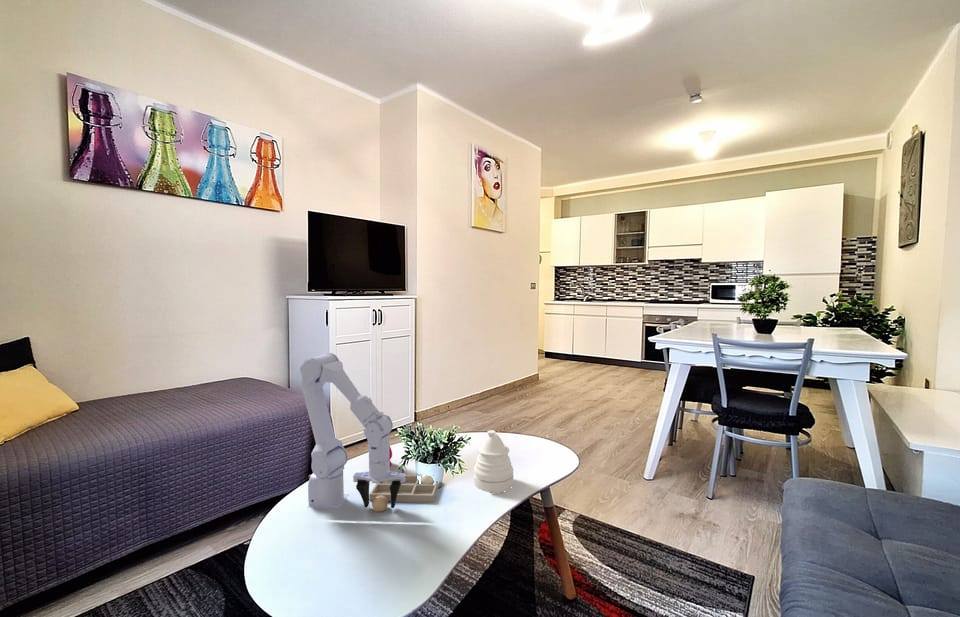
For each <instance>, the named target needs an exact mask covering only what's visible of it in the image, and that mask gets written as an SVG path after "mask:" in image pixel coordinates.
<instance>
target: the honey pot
mask: <svg viewBox="0 0 960 617" xmlns="http://www.w3.org/2000/svg"><path fill="white" fill-rule="evenodd" d="M478 453H479V454H478V455H477V457H476V461H475V465H474V467H473V485H474V486H475V487H476V488H477V489H478V490H481V491H484V492H489V494H490V493H499V494H501V493H500V492H504V491H507V490H509V489H511V487H512V486H513V487H514V468H513V465H512V461H511V458H510V456H509V453H510V448H509V447H508V446H507V445H506V444H504V442H503V440H502V438H501V437H500V436H499V435H498V434H497V432H496V431H495V430H492V429H491V430H487V437H486V438H485V440H484V442H483V443H482V445H480V446H479V447H478ZM513 487H512V488H513ZM511 490H512V489H511ZM509 491H510V490H509ZM507 492H508V491H507ZM504 493H505V492H504Z"/></svg>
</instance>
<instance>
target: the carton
mask: <svg viewBox="0 0 960 617" xmlns="http://www.w3.org/2000/svg"><path fill="white" fill-rule="evenodd" d="M405 479H406V480H405V482H404V483H401V485H400V488H399V491H398V494H397V498H396V502H400V503H401V502H403V503H404V502H405V503H434V501H435V497H436V495H437V492H438V488H439V486H438V481H436V484H435V485H422V484H419V480H418V479H417V476H416V474H415V475H414V474H412V475H410V474H405ZM390 485H391V484H384V483H383V482H379V483H375V485H374V486H373V488H372V490H371V491H370V492H369V502H373V500H374V498H375V497H376V496H379V495H383V496H385V497H386V498H387V500H388V502H391V492H390Z"/></svg>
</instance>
